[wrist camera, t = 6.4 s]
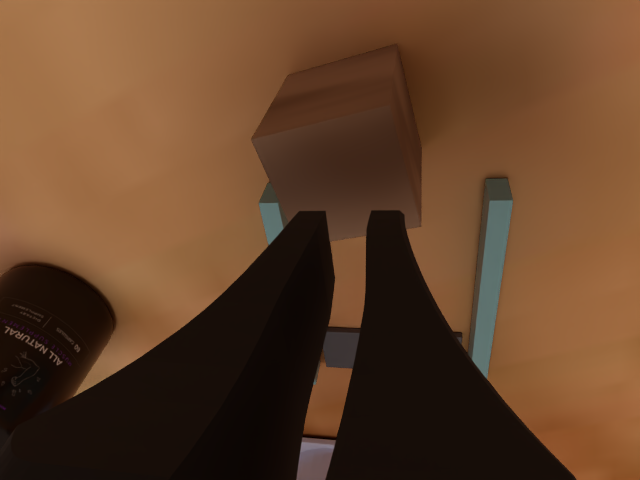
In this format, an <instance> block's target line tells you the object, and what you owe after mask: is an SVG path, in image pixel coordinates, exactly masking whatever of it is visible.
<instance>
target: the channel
mask: <svg viewBox="0 0 640 480" xmlns="http://www.w3.org/2000/svg"><path fill="white" fill-rule="evenodd" d="M512 204H513V198H512V194H511V190H510V187H509V183H508V179H507V178H504V179H486V180H485V190H484V200H483V209H482V219H481V229H480V239H479V249H478V259H477V269H476V278H475V288H474V298H473V308H472V318H471V328H470V338H469V347H468V355H469V356H470V358H471V359H472V361H473V362H474V363H475V365H476V366H477V367H478V368H479V370H480V371H481V372H482V373H483V375H484V376H485V377H486V379H487V375H488V368H489V361H490V355H491V348H492V341H493V334H494V327H495V320H496V314H497V307H498V300H499V293H500V286H501V279H502V273H503V266H504V259H505V252H506V245H507V238H508V232H509V225H510V218H511V211H512ZM259 207H260V211H261V215H262V219H263V224H264V228H265V232H266V236H267V240H268V244H269V245H270V244H271V242H272V241H273V240H274V239H275V238H276V237H277V236H278V234H279V233H280V232H281V231H282V230H283V228H284V227H285V226H286V225H287V224H288V223H289V222H288V220H287V218H286V216H285V213H284V211H283V209H282V207H281V204H280V202H279V200H278V198H277V196H276V193H275V191H274V189H273V187H272V185H271V183H267V186H266V188H265V190H264V192H263V195H262V197H261V199H260V201H259ZM359 334H360V329H356V328H331V327H328V328H327V332H326V336H325V340H324V344H323V350H324V356H325V361H326V367H338V368H353V365H354V360H355V355H356V350H357V345H358V340H359ZM454 334H455V336H456V337H457V339H458V340H459V342H460V343H462V333H454ZM319 367H320V360H319V364H318V368H317V372H316V376H315V380H314V384H316V382H317V377H318V372H319Z"/></svg>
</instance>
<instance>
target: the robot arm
mask: <svg viewBox="0 0 640 480" xmlns="http://www.w3.org/2000/svg"><path fill="white" fill-rule="evenodd" d="M334 282H335V275H334V268H333V260H332V253H331V246H330V239H329V232H328V225H327V217H326V211H299V212H298V213H297V214H296V215H295V216H294V217H293V218H292V219H291V220H290V221H289V223H288V224H287V225H286V226H285V227H284V228H283V230H282V231H281V232H280V233H279V234H278V236H277V237H276V238H275V239H274V240H273V241H272V242H271V244H270V245H269V246H268V247H267V248H266V249H265V250H264V251H263V252H262V254H261V255H260V256H259V257H258V258H257V259H256V260H255V261H254V262H253V263H252V264H251V266H250V267H249V268H248V269H247V270H246V271H245V272H244V273H243V274H242V275H241V276H240V277H239V278H238V279H237V280H236V281H235V282H234V283H233V284H232V285H231V286H230V287H229V288H228V289H227V290H226V291H225V292H224V293H223V294H222V295H220V296H219V297H218V298H217V299H216V300H215V301H214V302H213V303H212V304H211V305H209V306H208V307H207V308H206V309H205V310H204V311H202V312H201V313H200V314H199V315H197V316H196V317H195V318H194V319H192V320H191V321H190V322H189V323H188V324H186V325H185V326H184V327H182V328H181V329H180V330H178V331H177V332H176V333H174V334H173V335H171V336H170V337H169V338H167V339H166V340H164V341H163V342H161V343H160V344H159V345H157V346H156V347H154V348H153V349H152V350H150V351H149V352H147V353H146V354H144V355H143V356H142V357H140V358H138V359H137V360H135V361H134V362H132V363H131V364H129V365H127V366H126V367H124V368H123V369H121V370H119V371H118V372H116V373H115V374H113V375H111V376H109V377H108V378H106V379H104V380H103V381H101V382H99V383H98V384H96V385H94V386H92V387H91V388H89V389H87V390H85V391H83V392H82V393H80V394H78V395H76V396H74V397H72V398H70V399H68V400H67V401H65V402H63V403H61V404H59V405H57V406H55V407H53V408H51V409H49V410H47V411H45V412H43V413H41V414H39V415H37V416H35V417H34V418H32V419H30V420H27V421H25V422H23V423H21V424H19V425H18V426H17V427H16V428H15V430H14V431H13V432H12V434H11V435H10V437H9V438H8V439H7V441H6V442H5V444H4V445H3V447H2V448H1V450H0V480H576V478H575V477H574V475H573V474H572V473H571V472H570V471H569V470H568V469H567V468H566V467H565V466H564V465H563V464H562V463H561V462H560V461H559V460H558V459H557V458H556V457H555V456H554V455H553V454H552V453H551V452H550V451H549V450H548V449H547V448H546V447H545V446H544V445H543V444H542V443H541V442H540V440H539V439H538V438H537V437H536V436H535V435H534V434H533V433H532V432H531V431H530V430H529V429H528V428H527V426H526V425H525V424H524V423H523V422H522V421H521V420H520V419H519V417H518V416H517V415H516V414H515V413H514V412H513V411H512V409H511V408H510V407H509V406H508V405H507V404H506V403H505V401H504V400H503V399H502V398H501V396H500V395H499V394H498V393H497V391H496V390H495V389H494V387H493V386H492V385H491V384H490V382H489V381H488V380H487V379H486V377H485V376H484V375H483V373H482V372H481V371H480V370H479V368H478V367H477V366H476V365H475V363H474V362H473V361H472V359H471V358H470V356H469V355H468V353H467V352H466V350H465V349H464V348H463V346H462V345H461V343H460V342H459V340H458V339H457V337H456V336H455V334H454V332H453V331H452V329H451V328H450V326H449V325H448V323H447V321H446V320H445V318H444V316H443V315H442V313H441V311H440V309H439V307H438V306H437V304H436V302H435V300H434V298H433V296H432V294H431V292H430V290H429V288H428V286H427V284H426V282H425V280H424V278H423V276H422V273H421V271H420V269H419V266H418V264H417V262H416V259H415V257H414V254H413V251H412V248H411V245H410V242H409V239H408V235H407V231H406V226H405V215H404V214H403V213H402V212H401V211H400V210H371V213H370V216H369V220H368V224H367V229H366V293H365V305H364V312H363V317H362V323H361V329H360V334H359V340H358V345H357V350H356V355H355V360H354V365H353V370H352V375H351V380H350V384H349V388H348V393H347V397H346V402H345V406H344V410H343V415H342V419H341V423H340V427H339V430H338V434H337V438H336V440H327V439H316V438H304V437H303V430H304V424H305V418H306V413H307V408H308V404H309V399H310V395H311V392H312V388H313V384H314V380H315V376H316V372H317V368H318V364H319V360H320V356H321V352H322V348H323V344H324V340H325V336H326V332H327V328H328V324H329V320H330V315H331V308H332V300H333V291H334Z"/></svg>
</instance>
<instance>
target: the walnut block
mask: <svg viewBox="0 0 640 480" xmlns="http://www.w3.org/2000/svg"><path fill="white" fill-rule="evenodd" d="M251 141H252V143H253V145H254V147H255V149H256V152H257V154H258V156H259V158H260V160H261V163H262V165H263V167H264V169H265V171H266V174H267V176H268V178H269V180H270V182H271V185H272V187H273V189H274V191H275V193H276V196H277V198H278V200H279V202H280V204H281V207H282V209H283V211H284V213H285V216H286V218H287V220H288V222H289V221H290V220H291V219H292V218H293V217H294V216H295V215H296V214H297V213H298V212H299V211H326V217H327V225H328V232H329V239H330V241H337V240H343V239H349V238H355V237H361V236H366V229H367V224H368V220H369V216H370V213H371V210H400V211H401V212H402V213H403V214H404V215H405V226H406V229H410V228H416V227H421V161H422V148H421V143H420V139H419V135H418V130H417V126H416V122H415V118H414V113H413V109H412V105H411V101H410V96H409V92H408V88H407V84H406V79H405V75H404V71H403V66H402V62H401V58H400V54H399V49H398V45H397V44H394V45H391V46H387V47H384V48H380V49H377V50H373V51H370V52H366V53H363V54H360V55H356V56H353V57H349V58H346V59H342V60H339V61H335V62H332V63H329V64H325V65H322V66H318V67H315V68H311V69H308V70H304V71H301V72H297V73H294V74H291V75H288V76H287V78H286V79H285V81H284V83H283V85H282V86H281V88H280V90H279V92H278V93H277V95H276V97H275V99H274V100H273V102H272V104H271V106H270V107H269V109H268V111H267V113H266V114H265V116H264V118H263V120H262V121H261V123H260V125H259V127H258V128H257V130H256V132H255V133H254V135H253V137H252V139H251Z"/></svg>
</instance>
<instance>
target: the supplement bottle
mask: <svg viewBox="0 0 640 480" xmlns="http://www.w3.org/2000/svg"><path fill="white" fill-rule="evenodd" d="M112 331H113V323H112V318H111V314H110V312H109V310H108V308H107V306H106V305H105V303H104V302H103V300H102V299H101V298H100V297H99V296H98V295H97V294H96V293H95V292H94V291H93V290H92V289H91V288H90V287H88V286H87V285H86V284H84V283H83V282H81V281H80V280H78V279H77V278H75V277H73V276H71V275H69V274H67V273H65V272H62V271H60V270H56V269H53V268H49V267H45V266H36V265H29V266H20V267H17V268H14V269H11V270H9V271H7V272H6V273H4V274H3V275H2V276H1V277H0V450H1V448H2V447H3V445H4V444H5V442H6V441H7V439H8V438H9V437H10V435H11V434H12V432H13V431H14V430H15V428H16V427H17V426H18V425H19V424H21V423H23V422H25V421H27V420H30V419H32V418H34V417H35V416H37V415H39V414H41V413H43V412H45V411H47V410H49V409H51V408H53V407H55V406H57V405H59V404H61V403H63V402H65V401H67V400H68V399H70V398H72V397H73V396H74V395H75V393H76V391H77V390H78V388H79V387H80V385H81V384H82V382H83V381H84V379H85V378H86V376H87V375H88V373H89V371H90V370H91V368H92V367H93V365H94V364H95V362H96V361H97V359H98V358H99V356H100V354H101V353H102V351H103V350H104V348H105V346H106V345H107V343H108V341H109V340H110V338H111V335H112Z"/></svg>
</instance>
